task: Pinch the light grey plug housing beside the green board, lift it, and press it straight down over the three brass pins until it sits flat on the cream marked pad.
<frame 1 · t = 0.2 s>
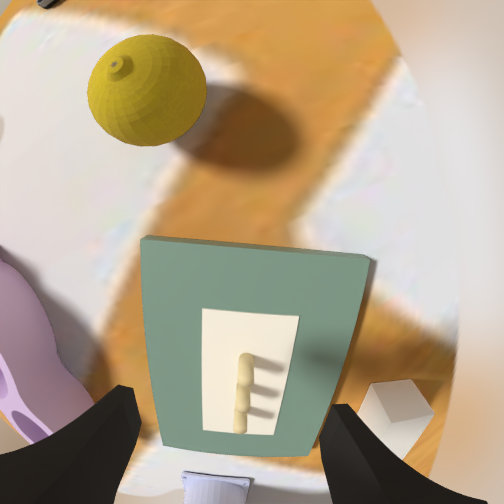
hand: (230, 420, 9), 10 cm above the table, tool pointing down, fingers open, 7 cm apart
clip: (28, 341, 20), on the table
lemon: (172, 110, 15), on the table
plug housing: (373, 418, 21), on the table
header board: (243, 374, 20), on the table
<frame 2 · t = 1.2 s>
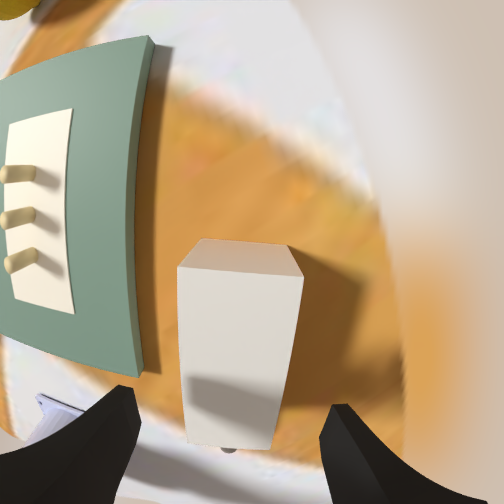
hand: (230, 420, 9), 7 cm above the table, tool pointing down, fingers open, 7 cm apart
lemon: (39, 5, 9), on the table
plug housing: (237, 327, 16), on the table
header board: (43, 211, 14), on the table
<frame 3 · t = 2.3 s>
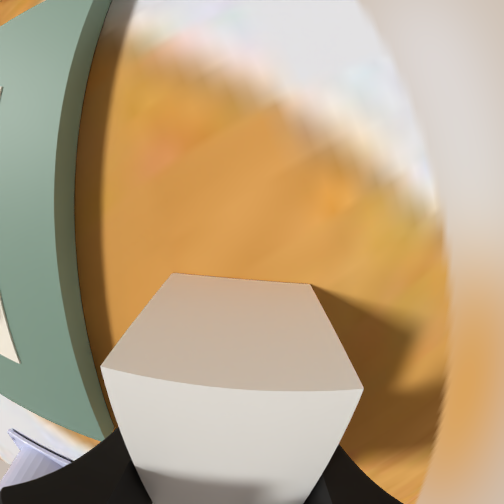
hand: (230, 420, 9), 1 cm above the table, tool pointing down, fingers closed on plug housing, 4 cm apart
plug housing: (232, 395, 10), on the table, touching gripper
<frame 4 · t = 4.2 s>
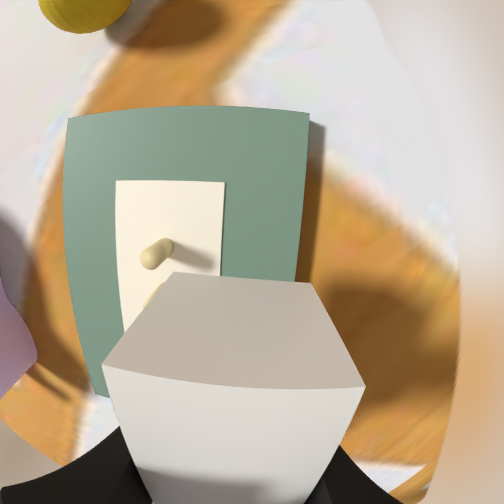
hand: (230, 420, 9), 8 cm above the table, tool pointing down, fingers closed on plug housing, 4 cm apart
lemon: (114, 19, 12), on the table
plug housing: (233, 394, 10), point 7 cm above the table, touching gripper
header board: (172, 282, 16), on the table
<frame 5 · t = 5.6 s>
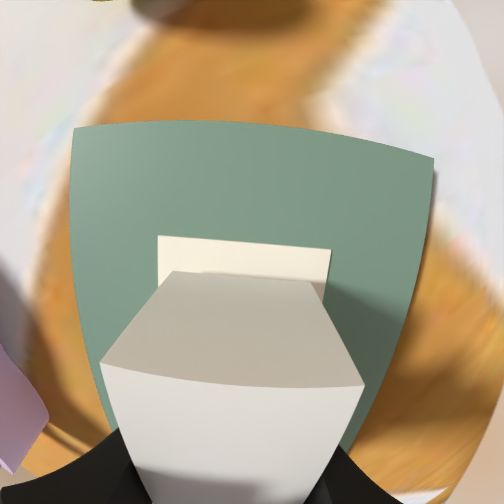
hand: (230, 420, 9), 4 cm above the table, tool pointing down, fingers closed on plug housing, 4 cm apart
plug housing: (232, 394, 10), point 2 cm above the table, touching gripper
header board: (235, 364, 12), on the table
when the fingers open (3 cm above the table, at t = 6.2 s): plug housing stays where it is, resting on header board.
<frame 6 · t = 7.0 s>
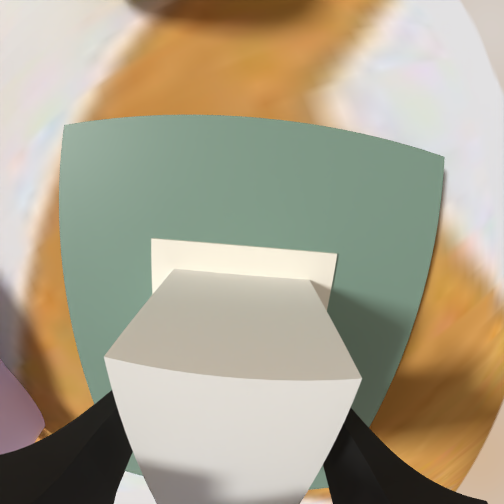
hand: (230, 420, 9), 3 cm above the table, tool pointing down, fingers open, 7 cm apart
plug housing: (232, 391, 10), point 1 cm above the table, touching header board
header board: (234, 372, 11), on the table
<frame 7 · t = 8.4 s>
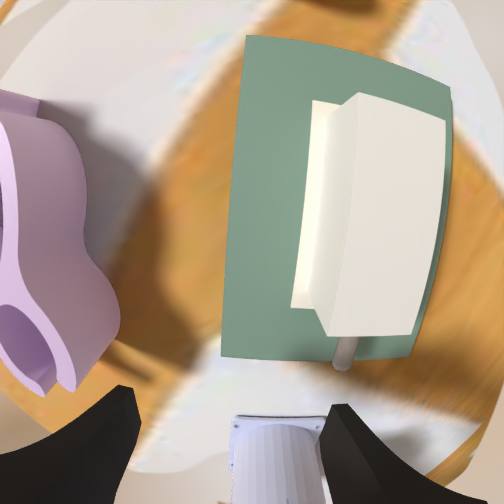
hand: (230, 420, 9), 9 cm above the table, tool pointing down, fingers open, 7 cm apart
clip: (42, 228, 17), on the table
plug housing: (355, 210, 15), point 1 cm above the table, touching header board
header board: (347, 209, 16), on the table
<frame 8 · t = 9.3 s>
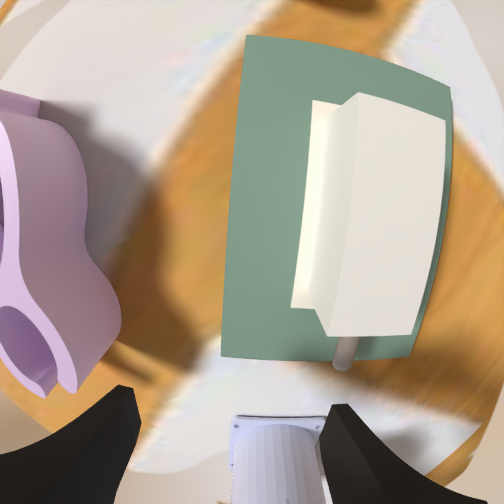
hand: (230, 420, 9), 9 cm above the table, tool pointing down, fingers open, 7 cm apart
clip: (42, 229, 17), on the table
plug housing: (355, 210, 15), point 1 cm above the table, touching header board
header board: (347, 209, 16), on the table
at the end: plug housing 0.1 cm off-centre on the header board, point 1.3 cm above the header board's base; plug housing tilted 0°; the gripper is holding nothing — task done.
